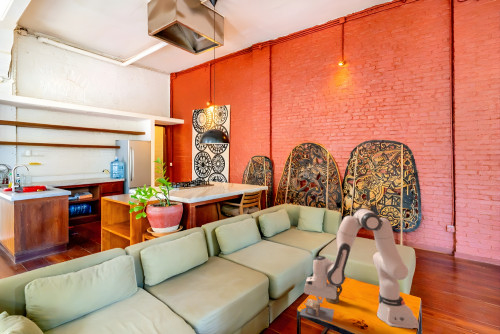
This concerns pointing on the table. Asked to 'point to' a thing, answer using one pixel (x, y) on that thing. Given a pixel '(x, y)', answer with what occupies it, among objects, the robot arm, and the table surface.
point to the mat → (319, 313)
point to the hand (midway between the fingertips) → (320, 302)
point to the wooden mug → (336, 295)
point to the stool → (312, 305)
